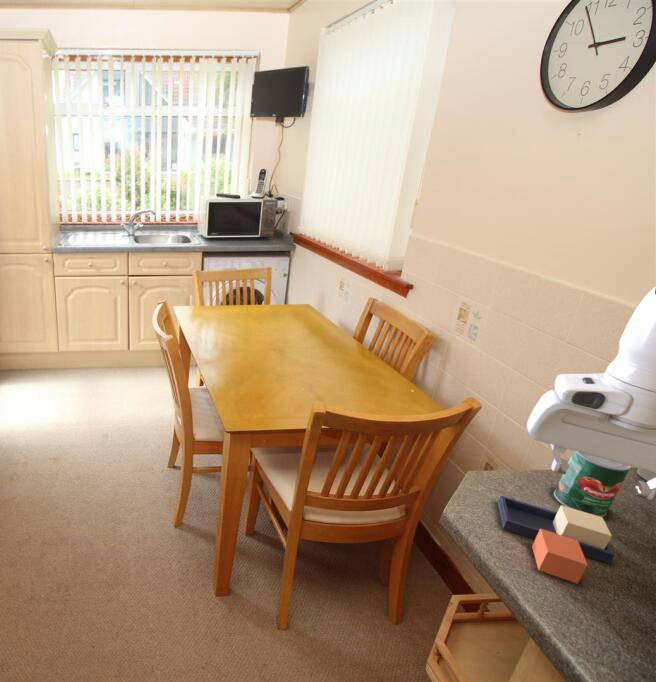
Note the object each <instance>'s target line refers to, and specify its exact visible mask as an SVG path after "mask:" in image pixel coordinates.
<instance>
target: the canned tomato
mask: <svg viewBox="0 0 656 682" xmlns="http://www.w3.org/2000/svg"><path fill="white" fill-rule="evenodd" d="M568 464H569V468H568V470H566V474H561V477H560V479H559V481H558V484H557V486H556V488H555V490H554V492H553V496H554V498H555V499H556V500H557V502H559V504H561V505H562V506H565V507H569V508H572V509H576V510H579V511H582V512H586V513H589V514H593V515H596V516H599V517H602V518H604V517H605V516H606V515H607V513H608V511H609V509H610V508H611V506H612V504H613V501H614V500H615V498H616V497H617V494H618V492H619V491H620V489H621V487H622V484H623V483H624V481H625V479H626V477H627V476H628V474H629V472H630V470H631V469H632V466H629V465H625V464H622V463H618V462H614V461H611V460H607V459H603V458H600V457H596V456H592V455H589V454H585V453H581V452H578V451H574V450H573V452H572V454H571V457H570V458H569V460H568Z"/></svg>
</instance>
